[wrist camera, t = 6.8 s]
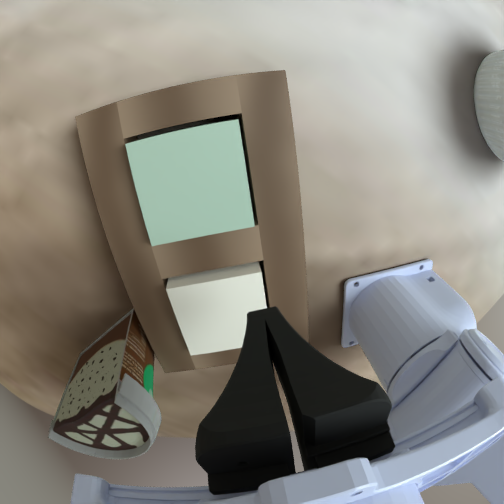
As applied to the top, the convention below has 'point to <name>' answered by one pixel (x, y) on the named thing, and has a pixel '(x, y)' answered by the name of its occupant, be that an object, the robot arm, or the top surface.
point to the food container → (110, 396)
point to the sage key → (192, 182)
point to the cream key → (216, 305)
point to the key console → (211, 246)
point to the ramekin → (491, 101)
